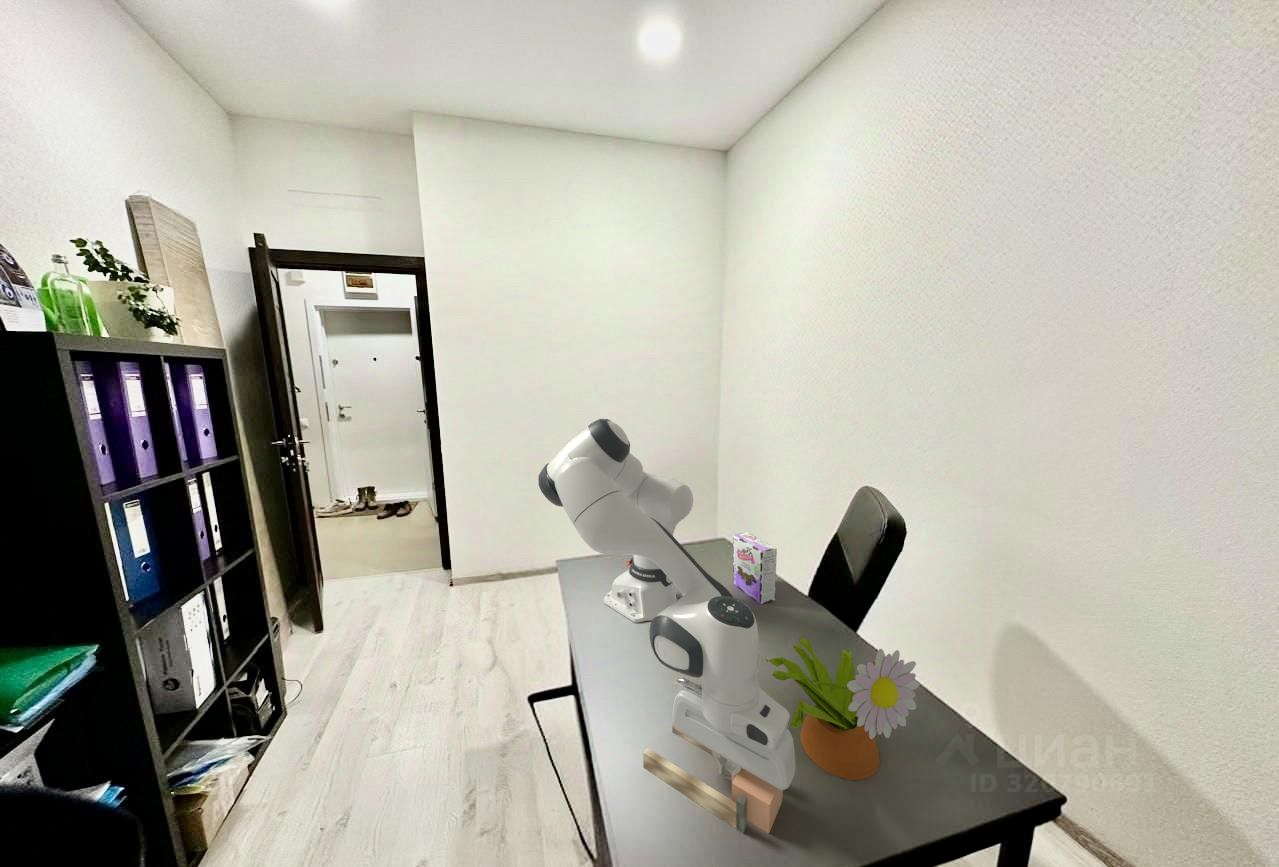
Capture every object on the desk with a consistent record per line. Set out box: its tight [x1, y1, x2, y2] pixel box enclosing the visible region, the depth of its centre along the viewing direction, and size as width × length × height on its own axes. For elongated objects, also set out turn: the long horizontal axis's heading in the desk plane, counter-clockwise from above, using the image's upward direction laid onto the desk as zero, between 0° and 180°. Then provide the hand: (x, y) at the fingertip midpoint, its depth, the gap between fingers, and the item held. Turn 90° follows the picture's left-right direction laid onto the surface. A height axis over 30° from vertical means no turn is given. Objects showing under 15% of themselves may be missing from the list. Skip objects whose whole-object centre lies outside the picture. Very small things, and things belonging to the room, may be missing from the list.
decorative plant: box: [765, 637, 921, 781], centre depth 79 cm, size 27×24×25 cm
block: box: [731, 768, 784, 834], centre depth 69 cm, size 6×6×5 cm
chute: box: [642, 722, 748, 834], centre depth 75 cm, size 19×10×5 cm, turn 53°
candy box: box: [732, 531, 778, 605], centre depth 132 cm, size 14×6×16 cm, turn 23°
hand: (728, 776), depth 72 cm, fingers closed
